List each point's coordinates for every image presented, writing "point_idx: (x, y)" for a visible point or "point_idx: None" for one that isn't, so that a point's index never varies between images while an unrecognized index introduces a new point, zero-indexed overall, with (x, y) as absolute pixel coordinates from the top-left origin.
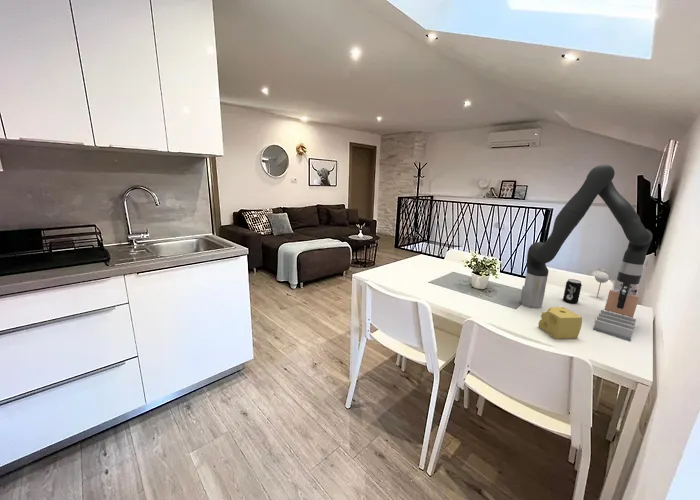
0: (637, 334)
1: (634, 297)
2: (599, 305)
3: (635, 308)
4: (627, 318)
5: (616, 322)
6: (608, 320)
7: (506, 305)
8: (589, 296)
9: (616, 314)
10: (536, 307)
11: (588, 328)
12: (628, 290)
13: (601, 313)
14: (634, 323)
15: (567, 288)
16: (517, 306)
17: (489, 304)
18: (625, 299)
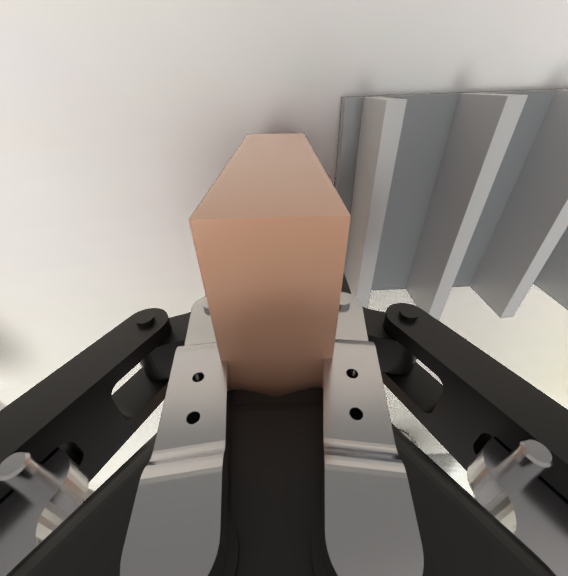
0: (488, 52)
1: (336, 273)
2: (105, 316)
3: (313, 153)
4: (389, 169)
5: (564, 220)
6: (537, 262)
7: (442, 467)
8: (12, 367)
9: (378, 246)
10: (407, 435)
11: (533, 290)
12: (275, 458)
13: (432, 312)
14: (520, 99)
15: None
16: (429, 455)
17: (464, 482)
18: (448, 330)
